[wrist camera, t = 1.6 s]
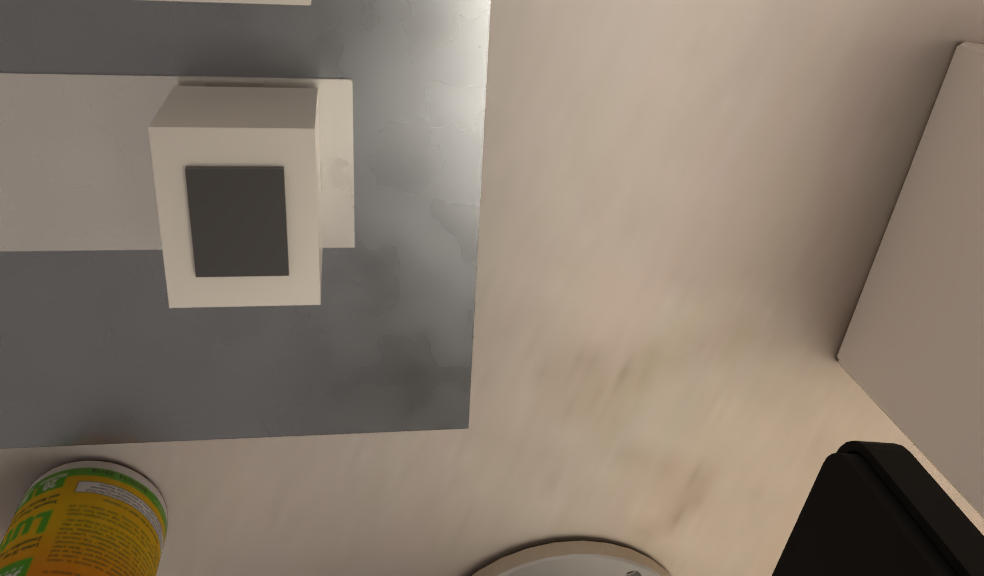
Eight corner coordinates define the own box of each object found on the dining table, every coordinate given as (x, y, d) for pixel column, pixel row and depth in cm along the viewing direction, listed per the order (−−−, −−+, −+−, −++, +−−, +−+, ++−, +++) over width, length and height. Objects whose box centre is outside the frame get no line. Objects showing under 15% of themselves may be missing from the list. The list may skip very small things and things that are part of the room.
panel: (503, -550, 23) (524, -596, 20) (460, 390, 35) (469, 433, 33) (-407, -668, 20) (-514, -739, 17) (-102, 411, 32) (-139, 459, 30)
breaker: (318, 88, 26) (314, 130, 23) (322, 246, 29) (320, 308, 25) (174, 85, 26) (146, 129, 22) (190, 247, 28) (167, 311, 24)
